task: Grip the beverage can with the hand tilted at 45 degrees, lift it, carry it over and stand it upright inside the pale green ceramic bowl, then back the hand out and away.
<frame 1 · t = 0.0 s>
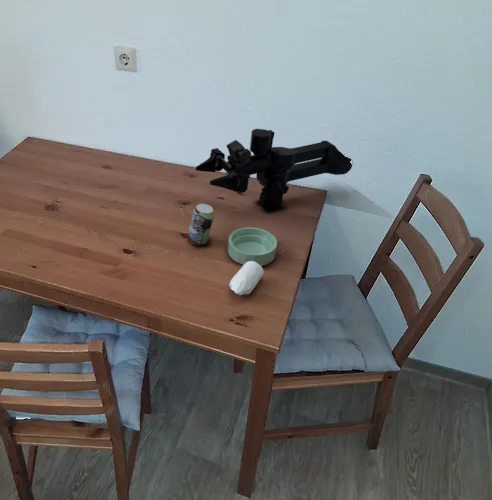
hand: (202, 175, 158), 17 cm above the table, tool horizontal, fingers open, 9 cm apart
beverage can: (199, 241, 160), on the table
bowl: (251, 253, 155), on the table
roll: (243, 290, 143), on the table
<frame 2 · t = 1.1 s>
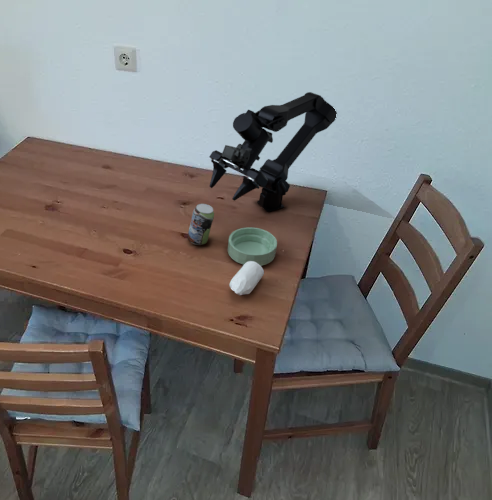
hand: (221, 193, 156), 13 cm above the table, tool tilted 45°, fingers open, 9 cm apart
nothing on the table moved.
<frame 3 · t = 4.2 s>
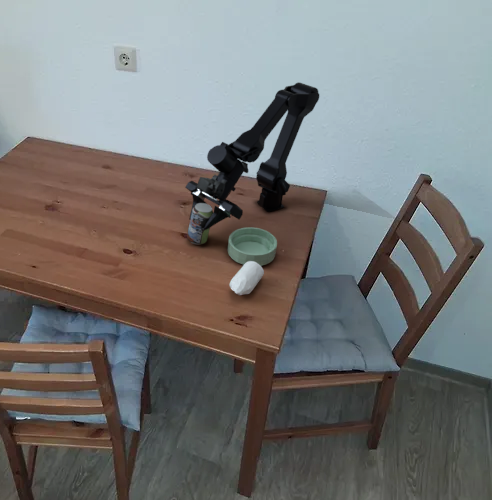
hand: (197, 224, 155), 7 cm above the table, tool tilted 45°, fingers closed on beverage can, 6 cm apart
beverage can: (199, 241, 160), on the table, touching gripper
everything else where it was.
when the fingers open (7 cm above the table, at t = 11.0 s): beverage can stays where it is, resting on bowl.
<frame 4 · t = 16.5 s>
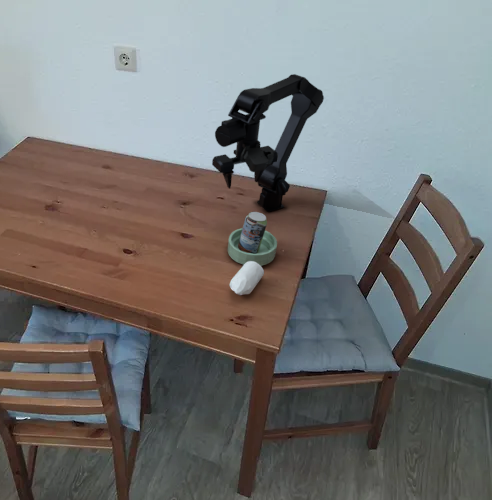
hand: (242, 184, 161), 13 cm above the table, tool pointing down, fingers open, 9 cm apart
beverage can: (250, 251, 155), resting on bowl
everything else where it was.
at the end: beverage can 0.5 cm off-centre in the bowl, point 0.4 cm above the bowl's base; beverage can tilted 0°; the gripper is holding nothing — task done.
